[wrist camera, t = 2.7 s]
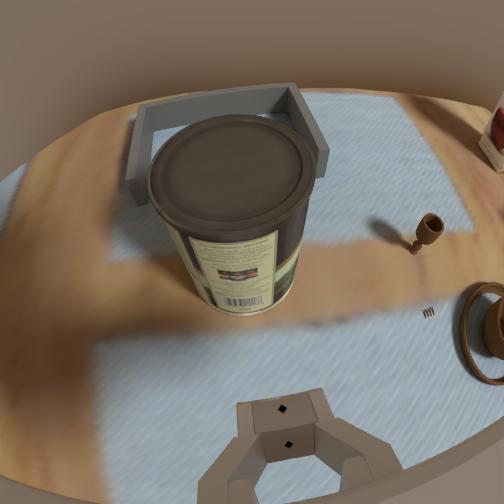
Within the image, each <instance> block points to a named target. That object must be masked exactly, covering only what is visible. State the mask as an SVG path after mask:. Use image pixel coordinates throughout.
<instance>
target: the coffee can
mask: <svg viewBox="0 0 504 504" xmlns="http://www.w3.org/2000/svg"><path fill="white" fill-rule="evenodd" d="M315 178H316V162H315V158H314V155H313V153H312V150H311V149H310V147H309V145H308V144H307V143H306V141H305V140H304V139H303V138H302V137H301V136H300V135H299V134H298V133H297V132H295V131H294V130H293V129H291V128H290V127H288V126H286V125H284V124H282V123H280V122H278V121H276V120H273V119H270V118H266V117H262V116H256V115H248V114H228V115H221V116H216V117H211V118H208V119H204V120H201V121H198V122H196V123H194V124H191V125H189V126H187V127H185V128H183V129H182V130H180V131H179V132H177V133H176V134H174V135H173V136H172V137H171V138H169V139H168V140H167V141H166V142H165V143H164V144H163V145H162V146H161V148H160V149H159V150H158V151H157V153H156V154H155V156H154V158H153V160H152V162H151V164H150V167H149V170H148V175H147V189H148V193H149V197H150V200H151V202H152V204H153V206H154V207H155V209H156V211H157V213H158V214H159V215H160V216H161V217H162V219H163V221H164V223H165V225H166V227H167V230H168V232H169V234H170V236H171V238H172V240H173V242H174V244H175V246H176V248H177V250H178V252H179V254H180V256H181V258H182V260H183V262H184V264H185V266H186V268H187V270H188V271H189V273H190V275H191V277H192V279H193V281H194V284H195V286H196V289H197V291H198V293H199V294H200V295H201V297H202V298H203V299H204V300H205V301H206V302H207V303H208V304H209V305H210V306H211V307H213V308H214V309H216V310H218V311H220V312H223V313H225V314H228V315H234V316H251V315H257V314H260V313H263V312H265V311H268V310H270V309H272V308H273V307H275V306H276V305H277V304H279V303H280V302H281V301H282V300H283V299H284V298H285V297H286V295H287V294H288V293H289V291H290V289H291V288H292V285H293V283H294V280H295V276H296V266H297V261H298V256H299V251H300V246H301V240H302V235H303V230H304V225H305V220H306V214H307V210H308V203H309V198H310V195H311V193H312V190H313V187H314V183H315Z"/></svg>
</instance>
